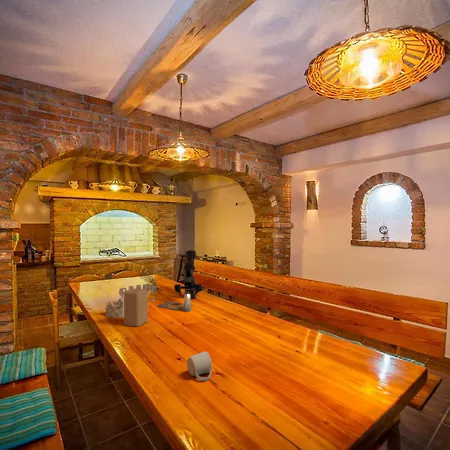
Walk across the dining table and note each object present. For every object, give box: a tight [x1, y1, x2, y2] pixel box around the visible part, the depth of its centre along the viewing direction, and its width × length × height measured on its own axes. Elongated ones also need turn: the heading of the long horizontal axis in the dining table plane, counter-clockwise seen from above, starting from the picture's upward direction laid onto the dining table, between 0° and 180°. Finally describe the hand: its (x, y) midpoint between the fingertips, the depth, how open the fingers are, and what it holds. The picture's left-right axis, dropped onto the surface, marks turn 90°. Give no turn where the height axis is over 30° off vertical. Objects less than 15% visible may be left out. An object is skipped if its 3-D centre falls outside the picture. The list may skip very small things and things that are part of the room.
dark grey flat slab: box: [156, 300, 184, 312], centre depth 209 cm, size 14×20×3 cm
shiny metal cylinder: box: [183, 291, 192, 313], centre depth 197 cm, size 4×4×13 cm
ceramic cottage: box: [104, 294, 124, 319], centre depth 192 cm, size 16×16×15 cm
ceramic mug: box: [186, 351, 213, 382], centre depth 114 cm, size 11×8×8 cm
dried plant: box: [123, 257, 163, 294], centre depth 248 cm, size 30×31×45 cm
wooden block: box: [123, 287, 148, 328], centre depth 173 cm, size 10×10×20 cm
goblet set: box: [118, 283, 157, 303], centre depth 218 cm, size 28×6×13 cm, turn 123°
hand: (187, 298), depth 198 cm, fingers open, 9 cm apart
